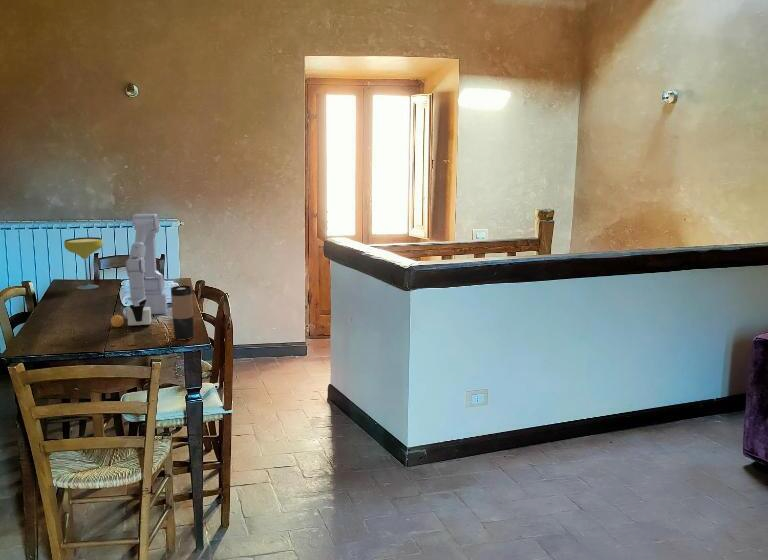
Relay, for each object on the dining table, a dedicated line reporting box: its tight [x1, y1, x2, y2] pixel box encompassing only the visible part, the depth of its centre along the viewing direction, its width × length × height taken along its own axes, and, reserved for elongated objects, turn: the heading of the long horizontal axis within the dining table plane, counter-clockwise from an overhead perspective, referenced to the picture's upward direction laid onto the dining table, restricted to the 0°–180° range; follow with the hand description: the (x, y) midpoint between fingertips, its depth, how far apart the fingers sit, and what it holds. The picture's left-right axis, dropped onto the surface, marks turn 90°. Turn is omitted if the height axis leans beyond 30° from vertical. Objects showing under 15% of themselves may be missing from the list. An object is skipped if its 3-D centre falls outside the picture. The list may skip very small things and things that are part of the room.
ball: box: [110, 314, 125, 328], centre depth 287 cm, size 5×5×5 cm
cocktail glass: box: [63, 236, 103, 291], centre depth 361 cm, size 18×18×25 cm
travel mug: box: [170, 285, 195, 340], centre depth 269 cm, size 8×8×20 cm
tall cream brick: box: [126, 307, 152, 326], centre depth 289 cm, size 9×6×6 cm
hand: (139, 319), depth 289 cm, fingers closed on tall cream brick, 6 cm apart
